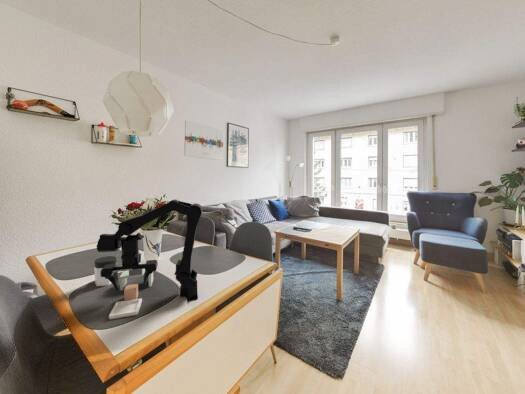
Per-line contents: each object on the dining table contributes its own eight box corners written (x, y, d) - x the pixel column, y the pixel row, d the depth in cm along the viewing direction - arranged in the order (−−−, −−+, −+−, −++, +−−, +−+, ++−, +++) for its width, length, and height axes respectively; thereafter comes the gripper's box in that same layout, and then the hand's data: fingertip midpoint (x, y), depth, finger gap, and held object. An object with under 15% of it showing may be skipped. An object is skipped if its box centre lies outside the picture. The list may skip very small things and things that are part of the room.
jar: (119, 284, 100) (118, 259, 99) (97, 291, 94) (96, 264, 93) (114, 278, 106) (113, 254, 105) (93, 283, 100) (92, 258, 99)
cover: (153, 279, 103) (153, 262, 102) (151, 286, 96) (150, 268, 96) (124, 282, 99) (123, 265, 98) (120, 290, 92) (119, 271, 92)
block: (138, 295, 89) (137, 283, 89) (136, 300, 85) (135, 288, 85) (127, 296, 88) (126, 285, 87) (124, 302, 84) (124, 290, 84)
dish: (142, 301, 85) (141, 298, 85) (137, 314, 77) (137, 311, 77) (116, 305, 82) (116, 302, 82) (109, 319, 74) (108, 315, 74)
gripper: (158, 242, 96) (159, 276, 97) (108, 246, 89) (110, 282, 91) (155, 250, 85) (156, 288, 87) (98, 255, 79) (100, 296, 80)
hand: (131, 288), depth 86 cm, fingers open, 9 cm apart
